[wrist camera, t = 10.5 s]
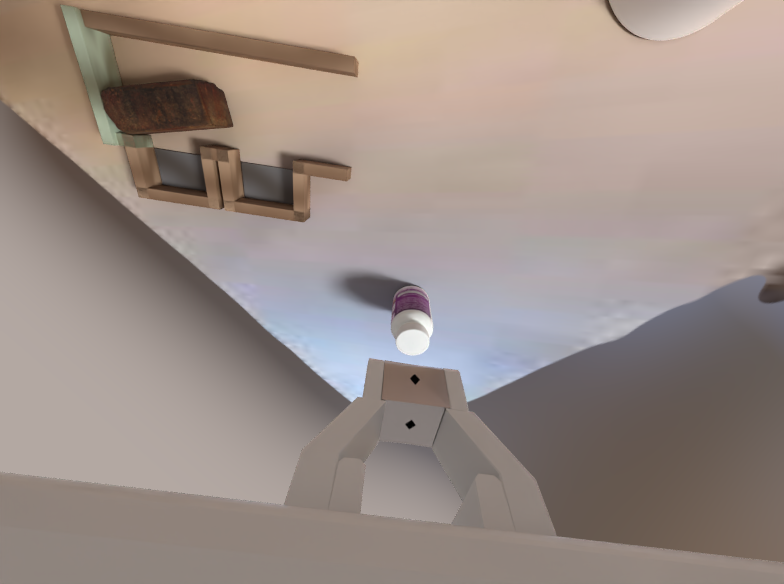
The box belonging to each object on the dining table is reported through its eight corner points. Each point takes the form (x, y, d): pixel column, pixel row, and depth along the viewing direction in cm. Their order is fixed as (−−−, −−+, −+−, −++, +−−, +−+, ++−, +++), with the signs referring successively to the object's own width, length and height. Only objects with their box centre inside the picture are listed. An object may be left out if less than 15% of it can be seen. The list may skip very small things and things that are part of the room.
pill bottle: (386, 292, 41) (382, 332, 33) (421, 279, 40) (425, 317, 32) (401, 320, 44) (400, 365, 35) (434, 309, 43) (441, 352, 34)
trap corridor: (92, 16, 28) (60, 4, 25) (358, 62, 29) (353, 55, 26) (140, 191, 36) (119, 195, 33) (347, 222, 37) (343, 229, 34)
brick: (223, 84, 30) (195, 76, 26) (235, 127, 32) (210, 126, 28) (129, 93, 31) (87, 86, 27) (147, 135, 33) (110, 135, 29)
